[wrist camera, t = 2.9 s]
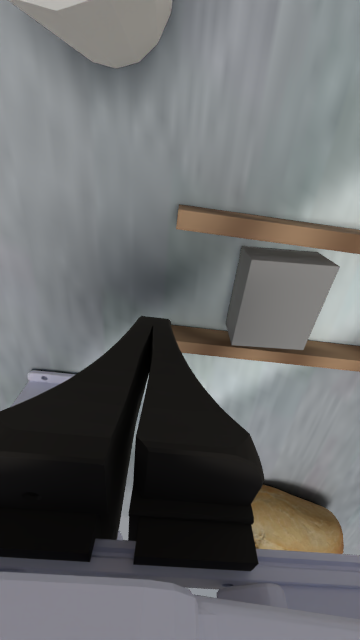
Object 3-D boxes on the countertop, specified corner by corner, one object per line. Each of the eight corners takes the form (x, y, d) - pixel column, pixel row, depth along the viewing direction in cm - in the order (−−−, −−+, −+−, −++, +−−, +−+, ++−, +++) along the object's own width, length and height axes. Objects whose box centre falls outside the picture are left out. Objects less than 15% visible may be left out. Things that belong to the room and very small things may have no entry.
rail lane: (163, 339, 20) (160, 369, 17) (180, 195, 14) (179, 202, 11) (400, 365, 21) (435, 398, 18) (501, 241, 16) (575, 259, 13)
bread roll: (298, 520, 39) (323, 595, 32) (217, 499, 35) (226, 579, 29) (345, 495, 34) (385, 576, 27) (258, 469, 31) (279, 554, 24)
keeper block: (225, 321, 19) (231, 345, 17) (240, 245, 16) (251, 259, 14) (287, 326, 19) (303, 350, 17) (315, 251, 16) (339, 266, 14)
